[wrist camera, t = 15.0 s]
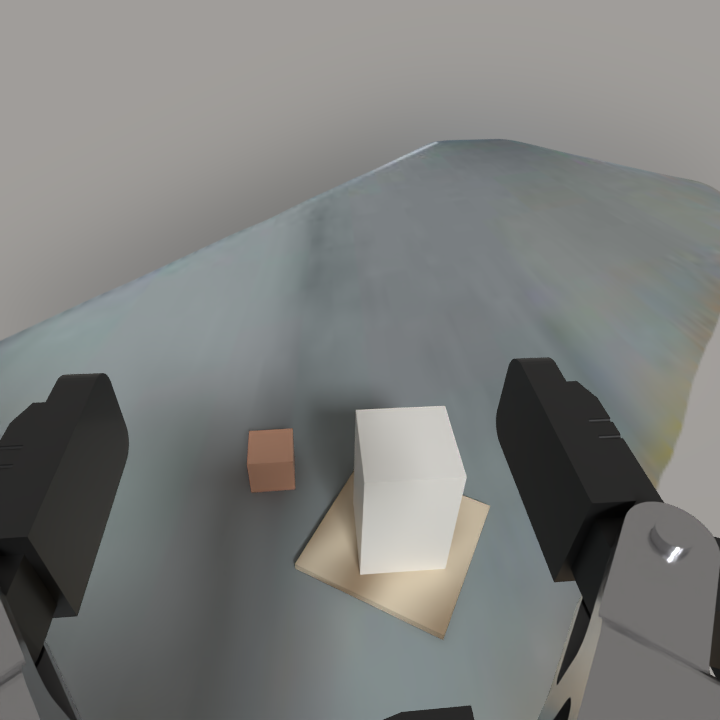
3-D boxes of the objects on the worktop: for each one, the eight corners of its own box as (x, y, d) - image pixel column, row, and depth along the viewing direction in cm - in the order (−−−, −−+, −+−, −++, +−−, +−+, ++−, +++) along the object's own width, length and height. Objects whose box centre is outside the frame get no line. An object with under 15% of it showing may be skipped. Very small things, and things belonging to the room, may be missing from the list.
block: (251, 493, 43) (246, 464, 41) (253, 459, 46) (249, 431, 44) (295, 490, 44) (293, 461, 42) (294, 457, 46) (292, 428, 44)
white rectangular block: (360, 574, 37) (364, 482, 31) (353, 502, 42) (355, 409, 36) (445, 568, 38) (466, 476, 32) (429, 498, 43) (444, 405, 36)
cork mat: (295, 568, 38) (295, 564, 38) (362, 461, 46) (362, 456, 46) (443, 639, 35) (444, 635, 34) (488, 510, 42) (489, 506, 42)
